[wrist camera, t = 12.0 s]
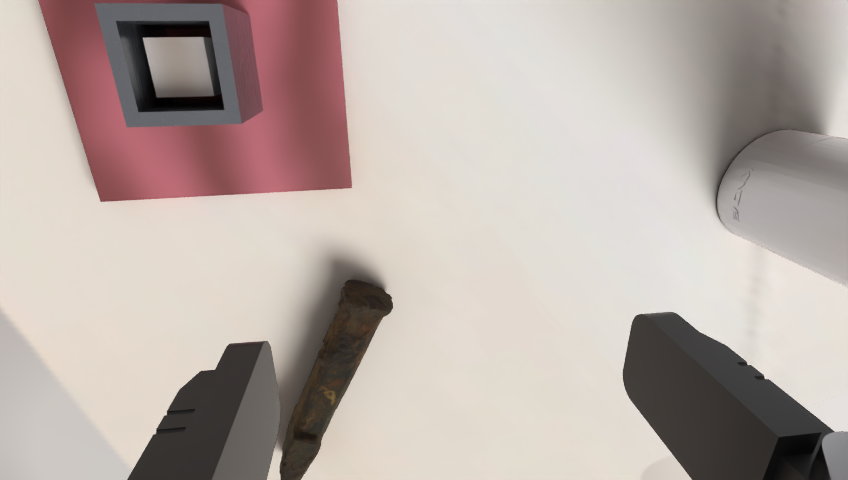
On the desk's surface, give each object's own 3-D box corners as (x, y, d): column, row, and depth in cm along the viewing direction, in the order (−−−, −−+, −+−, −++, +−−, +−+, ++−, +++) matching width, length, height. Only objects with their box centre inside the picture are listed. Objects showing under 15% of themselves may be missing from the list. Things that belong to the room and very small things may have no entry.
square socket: (249, 14, 26) (221, 3, 20) (263, 110, 28) (241, 124, 22) (150, 14, 25) (94, 3, 20) (172, 113, 27) (126, 127, 22)
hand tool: (346, 269, 34) (345, 300, 30) (392, 288, 36) (397, 319, 31) (258, 443, 40) (247, 490, 35) (301, 454, 41) (295, 500, 37)
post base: (330, -87, 25) (324, -123, 20) (351, 184, 32) (351, 208, 27) (20, -95, 23) (-71, -137, 18) (108, 197, 29) (58, 226, 24)
